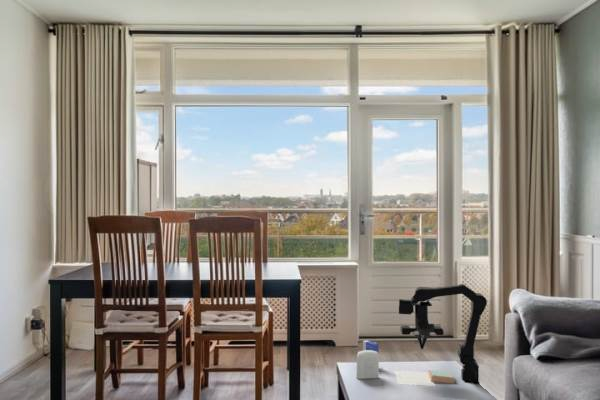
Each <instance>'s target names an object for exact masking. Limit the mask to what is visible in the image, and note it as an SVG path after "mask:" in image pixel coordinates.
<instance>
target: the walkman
mask: <svg viewBox="0 0 600 400" xmlns="http://www.w3.org/2000/svg"><path fill="white" fill-rule="evenodd" d="M364 350H372V351H376V352H378V353H379V343H377V342H376V341H371V340H363V341H362V351H364Z"/></svg>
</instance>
